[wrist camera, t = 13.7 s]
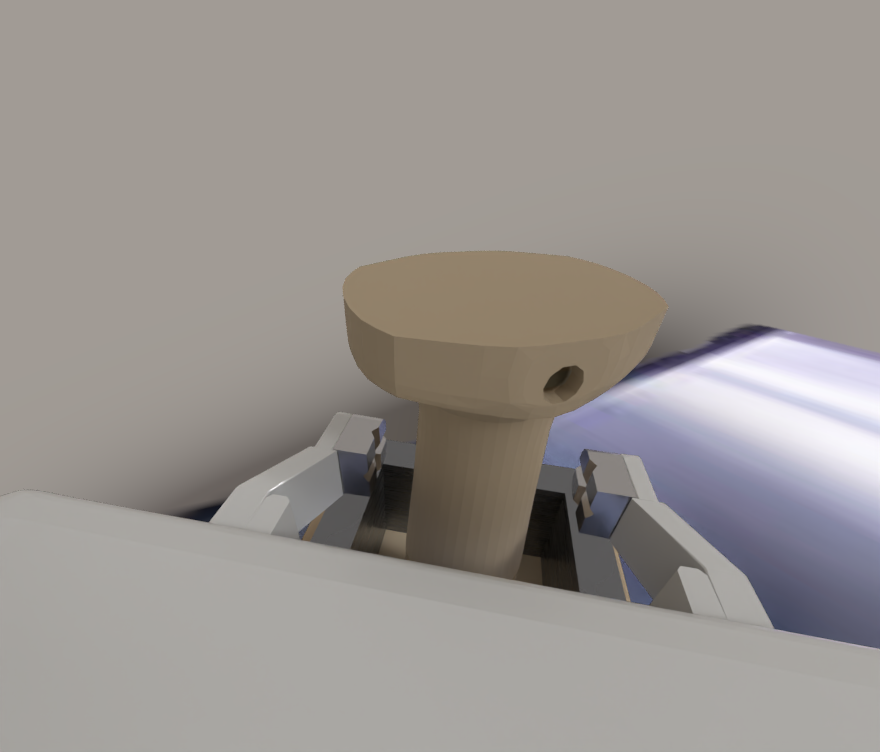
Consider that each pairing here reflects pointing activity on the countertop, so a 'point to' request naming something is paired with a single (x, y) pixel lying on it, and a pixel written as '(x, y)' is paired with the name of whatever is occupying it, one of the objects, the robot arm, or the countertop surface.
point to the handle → (490, 379)
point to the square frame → (548, 536)
